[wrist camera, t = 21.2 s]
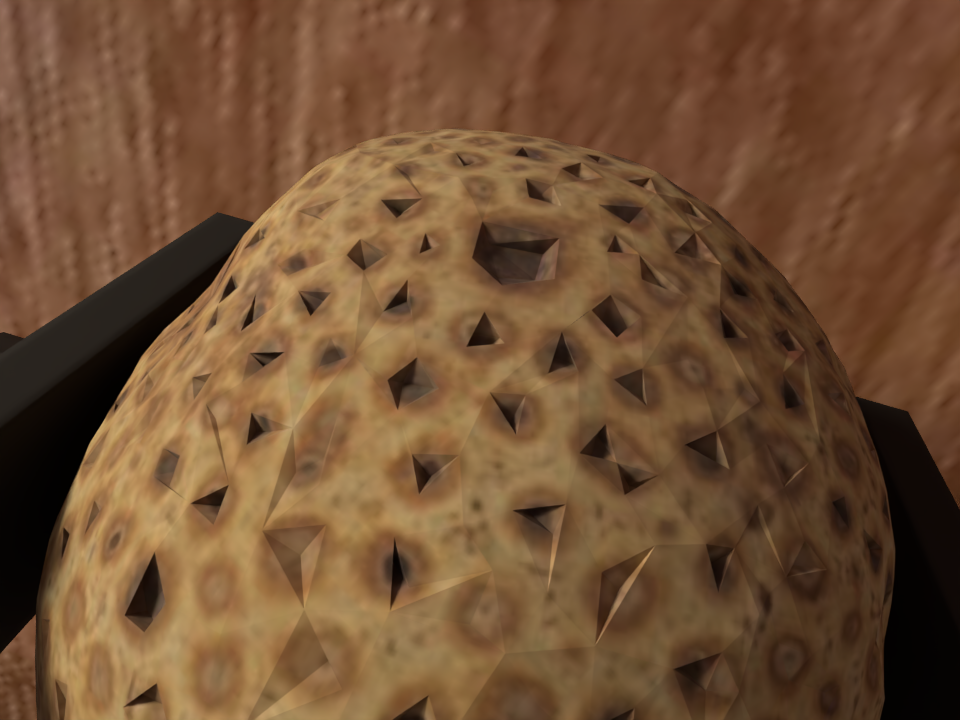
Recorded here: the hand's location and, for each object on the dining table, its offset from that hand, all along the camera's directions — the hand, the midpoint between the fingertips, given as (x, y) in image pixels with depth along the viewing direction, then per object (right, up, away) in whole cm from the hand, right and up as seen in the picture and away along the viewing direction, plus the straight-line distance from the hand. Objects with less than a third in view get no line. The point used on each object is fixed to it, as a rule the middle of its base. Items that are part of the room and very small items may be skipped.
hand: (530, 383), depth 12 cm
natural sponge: (0, +1, +2) cm, 2 cm away
